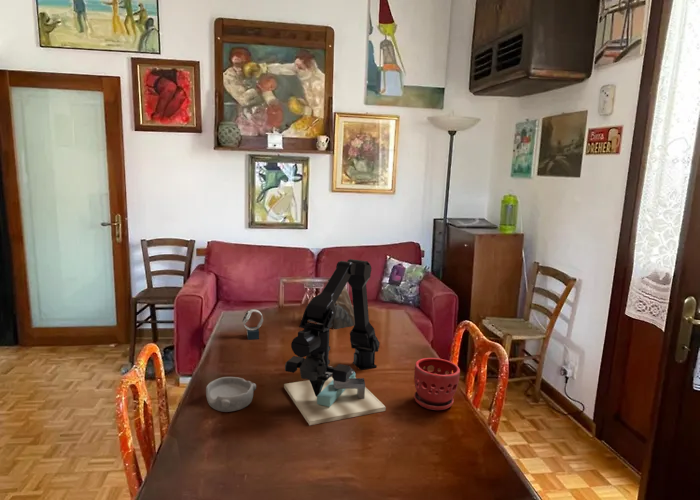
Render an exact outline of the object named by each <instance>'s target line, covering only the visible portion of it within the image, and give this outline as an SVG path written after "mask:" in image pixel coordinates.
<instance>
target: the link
mask: <svg viewBox="0 0 700 500" xmlns="http://www.w3.org/2000/svg"><path fill="white" fill-rule="evenodd" d="M355 377H356V372H355V371H354V373H353V374H352V375H351V376H350V377H349V378H355ZM344 391H345V389H334V386H333V380H332V381H331V382H330V383H329V384H328V385H327V386H326V387H325V388H324V389H323V390H322V391H321V392H320V393H319V394H318V395H317V404H319V405H324V406H328V407H330V406H331V405H332V404H333V403H334V402H335V401H336V399H337V398H338V397H339V396H340V395H341V394H342V393H343V392H344Z"/></svg>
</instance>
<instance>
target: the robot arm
mask: <svg viewBox="0 0 700 500" xmlns="http://www.w3.org/2000/svg"><path fill="white" fill-rule="evenodd" d="M371 274H372V265H371V263H370V262H369V261H368V260H359V259H354V258H353V259H351V258H349V259H347V261H345V260H341V261H338V262H337V263H336V266H335V269H334V272H333V273H332V274H331V277H330V278H329V279H330V280H329V279H328V280H329V281H328V280H327V283H326V284H325V286H324V288H323V289H322V291H321V292H320V293H319V294H317V295H315V296H314V297H312V299H311V300H310V301H309V302H308V304H307V305H306V307H305V309H304V312H303V315H302V317H301V321H300V324H299V328H300V329H303V330H299V331H298V332H297V336H295V337H294V338H292V341H291V343H290V345H291V351H292V352H293V354H294V355H293V356H292V357H290V358H289V359H288V360H287V361H286V362H285V365H284V371H285V372H288V373H291V374H294V373H296V372H297V371H298V369H299V373H300V378H301V379H302V380H310V382H311V385H312V387H313V390H314V393H315V396H316V397H317V395H318V394H319V393H320V392H321V390H322V388H323V385H324V383H325V381H327V380H328V379H329V378H330V377H332V378H333V379H334V380H335V381H339V382H346V381H347V380H348V379H349V377H350V376H351V375H352V369H353V368H352V367H351V365H348V364H341V363H338V364H337V365H336V366H334V367H333V366H331V365H329V364H330V362H331V360H330V359H329V357H330V355H329V354H330V350H331V346H330V328H331V327H332V324H331V322H332V320H333V318H334V314H335V312H336V308H335V303H336V301H337V299H338V297H339V296H340V294H341V292H342V290H343V289H344V287H346V285H347V284H348V285H349V286H350V287H351V299H352V307H353V310H354V321H355V325H354V326H352V329H351V330H350V332H349V336H350V337H349V341H350V347H351V349H354V352H353V360H352V365H354V366H355V367H356V368H357V370H358V369H359V370H360V371H362V370H369V369H375V368H377V365H376V363H375V361H376V358H375V357H376V353H378V352H379V349H380V344H381V342H380V340H379V339H378V337H377V336H376V330H375V328H374V326H373V325H372V324H371V323H370V317H369V304H368V303H369V302H368V291H367V283H368V281H369V280H370V278H371V276H372V275H371ZM308 321H309V322H308ZM295 355H296V356H295ZM351 368H352V369H351Z"/></svg>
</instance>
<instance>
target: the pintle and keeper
mask: <svg viewBox="0 0 700 500" xmlns="http://www.w3.org/2000/svg"><path fill="white" fill-rule="evenodd" d="M351 369H352V374H353V373H354V372H355V369H354V368H352V367H351ZM333 386H334V389H357V397H358V399H364V398H365V387H366V381H365V378H363V377H362V378H361V377H360V378H359V377H358V378H357V377H356V378H349V379H348V380H347V381H346V382H339V381H335V380H334V379H333Z"/></svg>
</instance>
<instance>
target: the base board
mask: <svg viewBox="0 0 700 500" xmlns="http://www.w3.org/2000/svg"><path fill="white" fill-rule="evenodd" d="M355 378H357V377H356V376H355ZM332 380H333V378H332V376H330V378H329V379H328V380H327V381H325V383H324V385H323V388H322V390H323V389H324V388H325V387H326V386H327V385H328V384H329V383H330V382H331V381H332ZM283 388H284V390H285V391H286V392H287V394H288V395H289V397H290V399H291V401H292V402H293V404H294V405H295V406H296V408H297V409H298V410H299V412H300V413H301V415H302V417H303V418H304V419H305V421H306V423H308V426H314V425H319V424H325V423H329V422H334V421H340V420H345V419H350V418H354V417H360V416H366V415H370V414H377V413H381V412H386V410H387V409H386V408H387V407H386V405H384V404H383V402H382V401H380V400H379V399H378V398H377V397H376V396H375V395H374V394H373V393H372V392H371V391H370V390H369V389H368V388H367V387H366V386H365V398H364V399H358V397H357V389H345V391H344V392H343V393H342V394H341V395H340V396H339V397H338V398H337V399H336V401H335V402H334V403H333V404H332V405H331V406H330V407H328V406H324V405H319V404H317V397H316V396H315V393H314V390H313V387H312V385H311V382H310V380H309V379H306V380H303V381H302V380H301V381H295V382H289V383H287V382H286V383H284V384H283ZM322 390H321V391H322Z"/></svg>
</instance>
